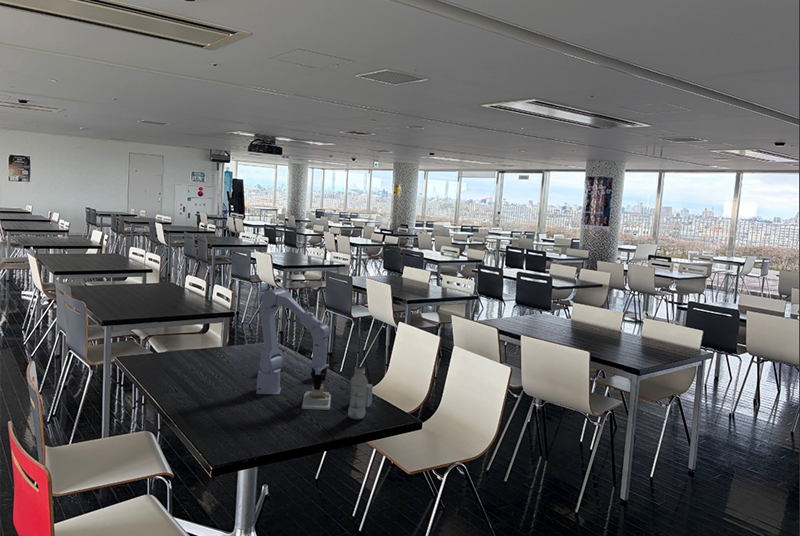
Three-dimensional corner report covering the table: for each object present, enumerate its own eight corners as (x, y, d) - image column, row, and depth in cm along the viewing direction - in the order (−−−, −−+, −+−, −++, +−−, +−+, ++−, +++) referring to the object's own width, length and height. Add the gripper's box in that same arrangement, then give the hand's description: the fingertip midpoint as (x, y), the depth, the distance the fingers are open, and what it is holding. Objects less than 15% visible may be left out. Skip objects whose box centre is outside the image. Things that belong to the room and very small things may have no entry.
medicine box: (371, 404, 245) (373, 384, 244) (367, 408, 241) (369, 387, 240) (354, 401, 248) (355, 381, 247) (349, 404, 244) (351, 384, 243)
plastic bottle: (347, 414, 232) (350, 365, 230) (364, 415, 233) (368, 366, 231) (347, 421, 226) (350, 370, 224) (365, 421, 227) (368, 371, 224)
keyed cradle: (301, 408, 235) (302, 401, 235) (304, 395, 250) (305, 388, 249) (329, 409, 236) (330, 402, 236) (330, 396, 251) (331, 390, 250)
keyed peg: (326, 402, 241) (327, 388, 240) (311, 402, 240) (312, 387, 240) (326, 398, 245) (327, 384, 245) (311, 398, 245) (312, 384, 244)
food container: (279, 376, 273) (280, 355, 272) (266, 374, 274) (267, 353, 273) (289, 368, 285) (290, 348, 284) (277, 367, 286) (278, 346, 285)
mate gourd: (328, 377, 276) (329, 346, 274) (324, 382, 268) (326, 350, 266) (312, 376, 277) (314, 344, 275) (308, 381, 269) (309, 348, 267)
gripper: (328, 359, 234) (326, 392, 235) (330, 349, 248) (328, 381, 250) (310, 358, 233) (308, 392, 235) (313, 348, 247) (311, 380, 249)
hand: (317, 386), depth 242 cm, fingers open, 7 cm apart
